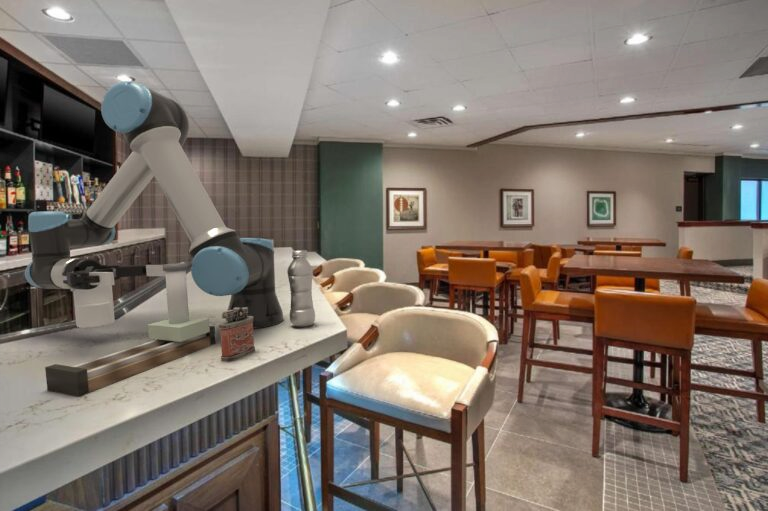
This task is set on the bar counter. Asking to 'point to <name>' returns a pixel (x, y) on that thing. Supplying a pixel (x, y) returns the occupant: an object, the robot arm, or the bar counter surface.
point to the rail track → (121, 364)
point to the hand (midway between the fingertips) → (141, 274)
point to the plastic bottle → (301, 290)
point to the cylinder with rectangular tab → (94, 306)
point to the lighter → (236, 334)
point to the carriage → (177, 309)
